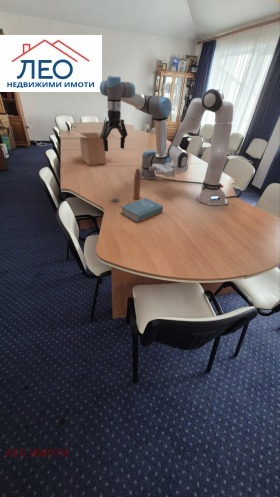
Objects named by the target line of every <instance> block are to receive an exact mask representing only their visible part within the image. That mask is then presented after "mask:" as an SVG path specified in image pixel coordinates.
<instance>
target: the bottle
mask: <svg viewBox="0 0 280 497" xmlns="http://www.w3.org/2000/svg"><path fill="white" fill-rule="evenodd" d="M140 172H141V168H137V167H136V168H135V172H134V174H133V193H132V194H133V196H132V198H133V200H140V196H141V182H142V179H141V173H140Z"/></svg>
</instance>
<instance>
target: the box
mask: <svg viewBox="0 0 280 497" xmlns="http://www.w3.org/2000/svg"><path fill="white" fill-rule="evenodd" d="M101 132H102V131H98V132H96V131H95V130H92V129H91V130H77V132H76V131H70V133H71V134H72V135H74V136H75V137H77V138H79V144H80V153H81V160H83V162H85V163H86V165H87V166H95V165H97V166H98V165H106V163H107V162H106V158H107V157H106V151H104V145H103V139H102V138H100V136H101ZM113 137H114V136H113V135H111V134H109V136H108V138H113Z"/></svg>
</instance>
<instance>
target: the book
mask: <svg viewBox="0 0 280 497" xmlns="http://www.w3.org/2000/svg"><path fill="white" fill-rule="evenodd" d="M163 209H164V206H163V204H160V203H158V202H157V201H154V200H152V199H149V198H147V197H144V198H141V199H138V200H136V201H133V202H130V203H127V204H124V205H122V206H121V212H120V214H121V215H122V216H125V217H127V218H128V219H130V220H131V221H133V222H135V223H140V222H142V221H144V220H147V219H149V218H151V217H153V216H156V215H159V214H161V213H163Z"/></svg>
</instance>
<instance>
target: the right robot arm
mask: <svg viewBox="0 0 280 497" xmlns="http://www.w3.org/2000/svg"><path fill="white" fill-rule="evenodd" d="M224 99H225V96H224V93H223V91H222V90H220V89H219V88H210V89H207V90H206V91H205V92H204V93H203V95H202V97H201V98H200V97H195V98H192V100H191V101H190V104H189V105H188V107H187V110H186V113H185V115H184V118H183V120H182V122H180V124H179V125H178V127H177V129H176V131H175V134H174V137H173V139H172V141H171V143H170V144H169V146H168V147H167V156H168V157H169V158H170V159H172V161H171V163H166V164H165V165H162V164H152V167H150V168H149V170H155V174H156V175H162V176H163V177H164V178H171V177H172V178H175V176H176V175H182V174H184V173H186V172H187V171H188V170H189V164H188V159H189V154H188V153H187V152H186V151H185V150H183V149H182V148H181V147H180V144H181V143H182V140H183V137H184V136H185V135H186V134H189V133H190V134H191V133H194V132H196V131H197V130H198V129H199V127H200V125H201V123H202V119H203V117H204V114H205V113H206V112H207V111H209V112H212V113H214V124H213V131H212V136H211V144H210V148H209V149H210V150H209V158H208V163H207V167H206V171H205V175H204V180H203V181H202V183H203V184H201V190H200V193H199V195H198V196H197V200H198V201H199V202H200V203H202V204H206V205H208V206H223V205H228V199H229V198H239V197H241V196H243V193H244V192H249V193H251V194H252V193H253V191H251V190H249V189H248V190H247V189H246V190H241V191H240V194H239V195H231V196H227V195H226V193H225V191H223V190H222V189H223V188H224V185H223V184H222V183H220V182H221V178H222V175H223V171H224V167H225V163H226V160H227V159H228V158H227V157H228V152H229V146H230V141H231V134H232V129H233V122H234V115H235V106H234V104H233V103H232V102H230V101H225V100H224Z"/></svg>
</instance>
